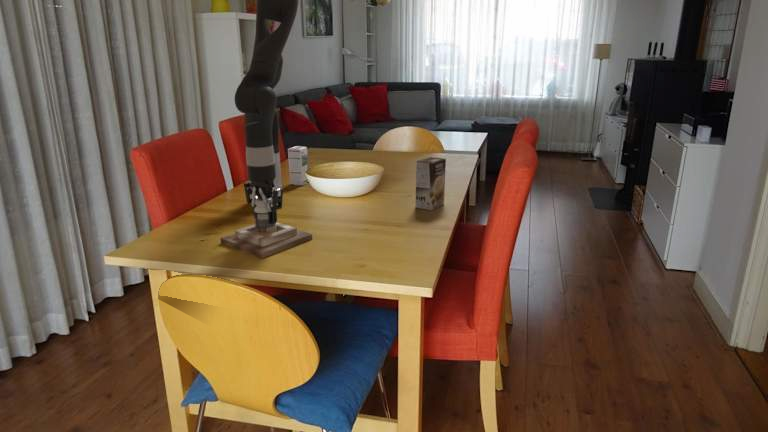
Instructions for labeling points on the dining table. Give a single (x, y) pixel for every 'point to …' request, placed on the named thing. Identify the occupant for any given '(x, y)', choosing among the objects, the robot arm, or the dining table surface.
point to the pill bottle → (263, 218)
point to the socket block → (266, 240)
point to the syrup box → (298, 165)
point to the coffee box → (430, 183)
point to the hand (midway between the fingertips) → (265, 221)
